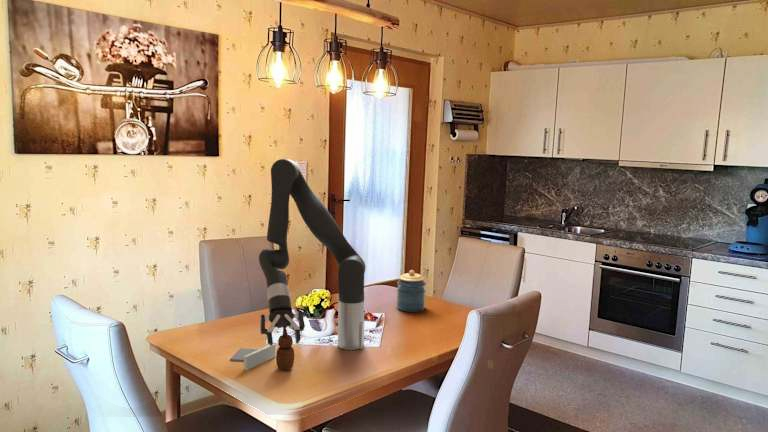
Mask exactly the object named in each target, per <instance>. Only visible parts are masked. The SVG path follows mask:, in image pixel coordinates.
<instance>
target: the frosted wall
mask: <svg viewBox="0 0 768 432" xmlns="http://www.w3.org/2000/svg"><path fill="white" fill-rule="evenodd" d="M274 358H276V343H273V344H272V345H271V346H270V344H268V345H266V346H263V347H262V348H259V350H257V351H254V352H252V353H250V354H248V355H245V356H244V361H243V370H244V371H249V370H251V369H252V368H254V367H257V366H259V365H261V364H263V363H265V362H267V361H270V360H271V359H274Z"/></svg>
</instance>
